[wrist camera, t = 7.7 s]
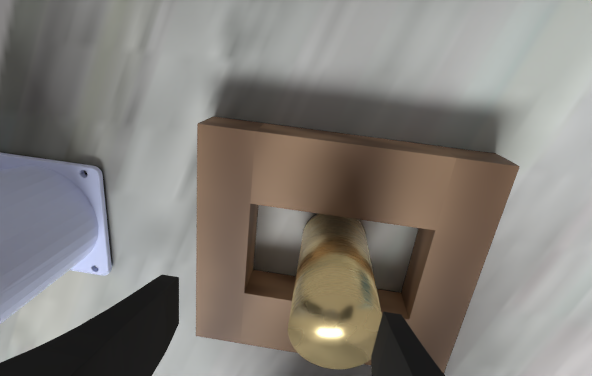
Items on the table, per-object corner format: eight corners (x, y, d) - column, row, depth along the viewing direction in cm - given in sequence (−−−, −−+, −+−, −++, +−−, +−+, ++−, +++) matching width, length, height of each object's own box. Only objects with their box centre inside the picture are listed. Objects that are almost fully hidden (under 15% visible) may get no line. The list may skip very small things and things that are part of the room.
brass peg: (302, 263, 22) (287, 364, 15) (303, 208, 21) (287, 289, 13) (362, 267, 22) (379, 373, 14) (368, 211, 20) (390, 297, 13)
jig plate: (209, 309, 24) (196, 335, 22) (213, 116, 19) (197, 123, 17) (431, 346, 24) (442, 377, 21) (495, 153, 19) (519, 166, 16)
